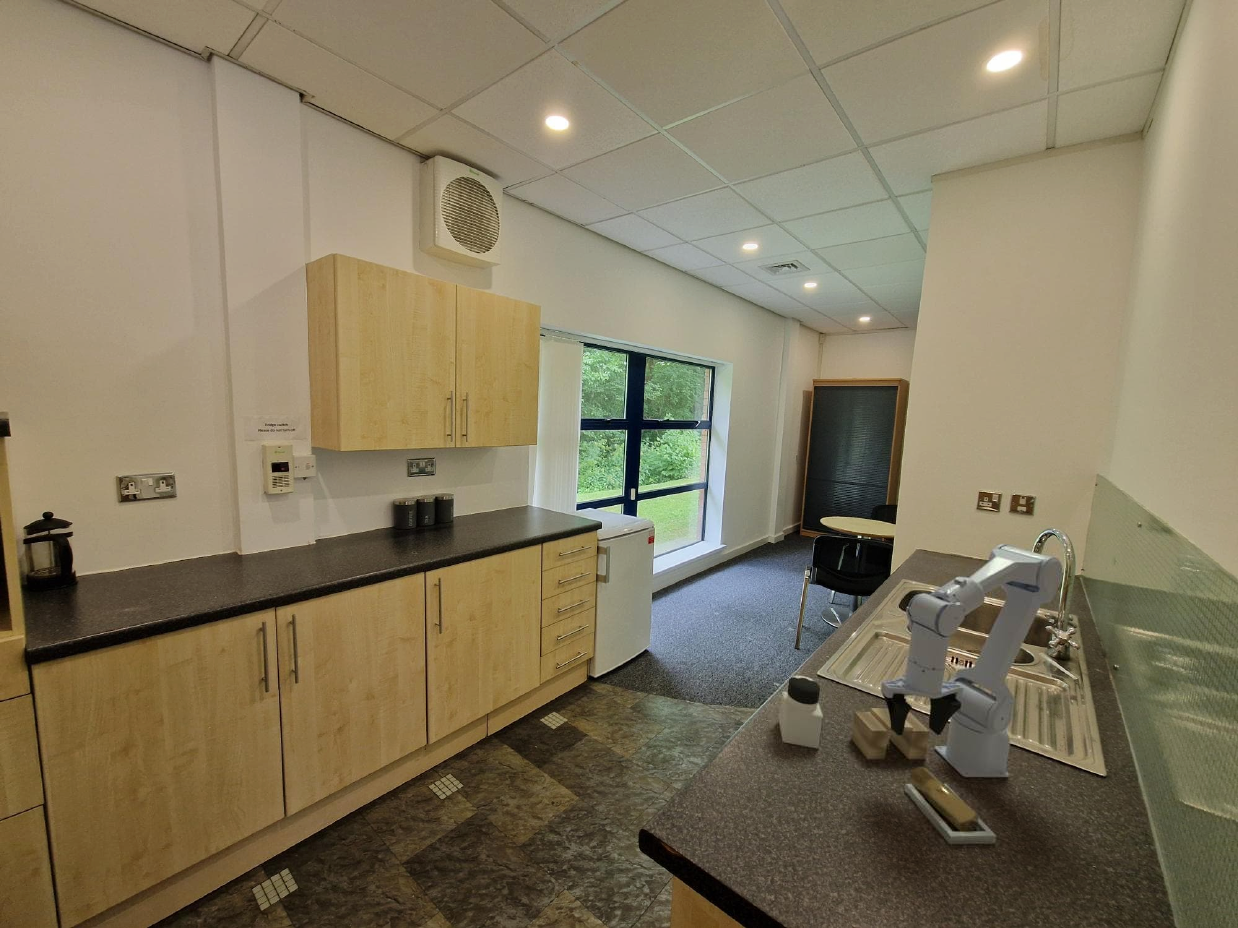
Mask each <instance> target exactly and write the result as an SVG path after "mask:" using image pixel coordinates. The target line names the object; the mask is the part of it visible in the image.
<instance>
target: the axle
mask: <svg viewBox="0 0 1238 928" xmlns="http://www.w3.org/2000/svg"><path fill="white" fill-rule="evenodd" d="M909 784H912V786H913V787H914V788H915V789H916V790H917V791H918V792H919V794H920V795H921V796H922V797H923V798H924V799H926V800H927V802H929V803H930V804H931V805H932V806H933V807H934V808H935V809H936V810H937V811H938V812H939V813H941V815H943V816H944V817H945V818H946V819H947V821H949V822H950V823H951V824H952V825H953V826H954V827H955V828H956V829H957V830H958V832H974V830H976V829H975V827H976V826H977V824H978V820H979V818H980V817H979V814H978V813H977V812H976V811H975V810H974V809H973V808H971V807H970V806H969V805H968V804H967V803H965V802H964V800H963V799H961V797H959V796H956V795H955V794H954V793H953V792H952V791H951V790H950V789H949V788H947V787H946V786H945V785H944V784H945V783H943V782H942V781H941V780H939V778H937V777H936V776H935V775H934V774H933V773H931V771H929V770H928V769H927V768H926V767H925V766H918V767H915V769H913V770H912V771H911V773H910V776H909Z"/></svg>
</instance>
